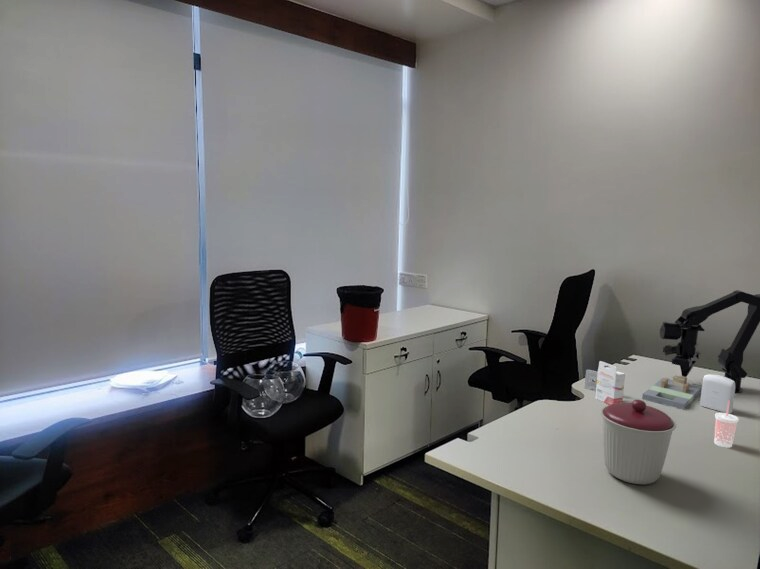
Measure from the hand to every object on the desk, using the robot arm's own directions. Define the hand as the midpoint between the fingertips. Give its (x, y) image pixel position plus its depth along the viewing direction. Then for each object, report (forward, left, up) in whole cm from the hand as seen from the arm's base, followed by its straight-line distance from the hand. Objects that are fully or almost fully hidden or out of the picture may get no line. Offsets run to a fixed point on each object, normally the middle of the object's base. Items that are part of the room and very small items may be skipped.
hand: (684, 378), depth 215 cm
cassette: (+33, -21, -3) cm, 39 cm away
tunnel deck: (+16, 0, -3) cm, 16 cm away
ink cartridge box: (+41, -15, -3) cm, 43 cm away
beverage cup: (+51, +23, -3) cm, 56 cm away
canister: (+91, +9, -3) cm, 91 cm away
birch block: (+7, 0, -1) cm, 7 cm away
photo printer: (+19, +15, -3) cm, 25 cm away
